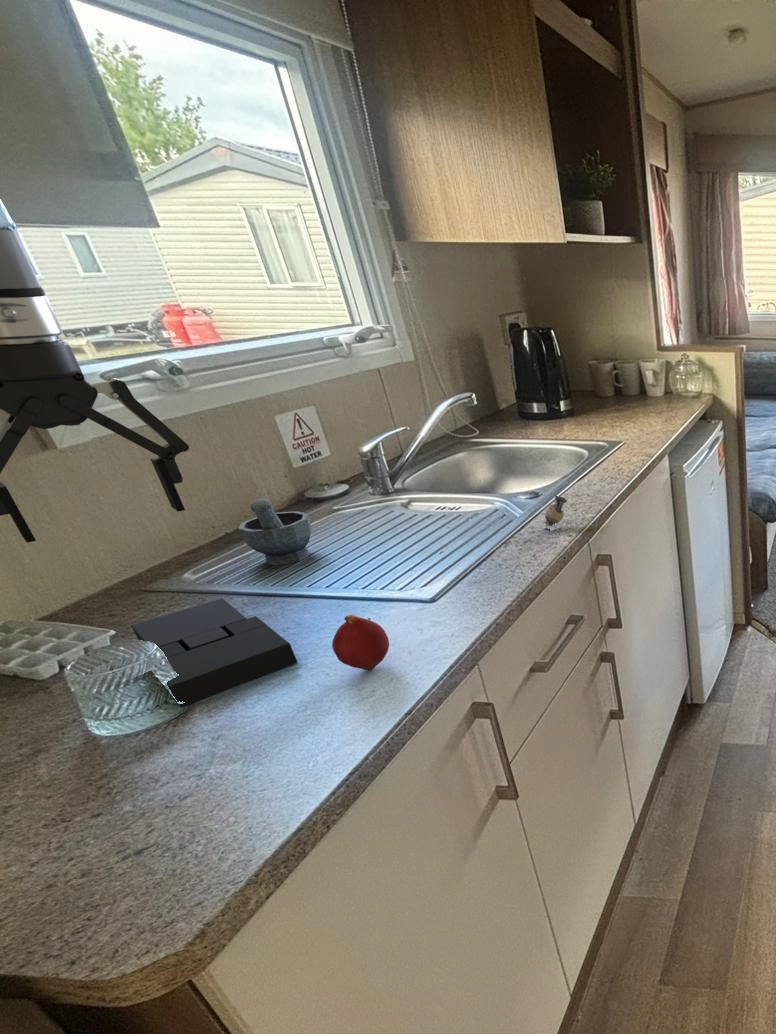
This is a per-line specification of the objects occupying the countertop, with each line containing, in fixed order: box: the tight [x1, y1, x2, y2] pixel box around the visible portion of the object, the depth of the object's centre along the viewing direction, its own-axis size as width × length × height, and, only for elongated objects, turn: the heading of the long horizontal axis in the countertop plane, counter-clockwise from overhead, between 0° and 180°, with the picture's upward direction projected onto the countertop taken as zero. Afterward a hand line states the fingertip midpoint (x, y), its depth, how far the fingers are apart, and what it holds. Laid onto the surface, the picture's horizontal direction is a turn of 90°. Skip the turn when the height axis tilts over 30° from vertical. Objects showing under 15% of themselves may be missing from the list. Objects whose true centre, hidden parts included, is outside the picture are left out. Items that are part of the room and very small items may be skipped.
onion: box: [331, 614, 390, 671], centre depth 82 cm, size 6×6×8 cm
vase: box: [537, 495, 568, 533], centre depth 127 cm, size 5×5×6 cm
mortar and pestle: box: [238, 498, 313, 566], centre depth 111 cm, size 11×9×12 cm
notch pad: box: [159, 615, 298, 708], centre depth 83 cm, size 12×12×3 cm
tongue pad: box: [130, 598, 248, 651], centre depth 88 cm, size 14×10×3 cm
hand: (108, 523), depth 81 cm, fingers open, 13 cm apart
